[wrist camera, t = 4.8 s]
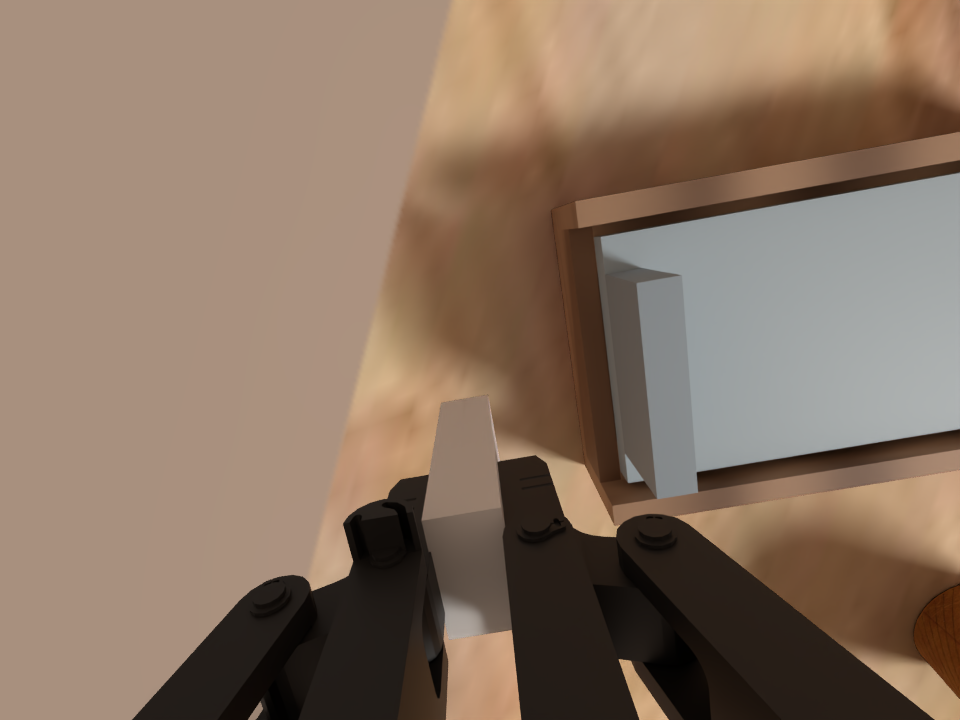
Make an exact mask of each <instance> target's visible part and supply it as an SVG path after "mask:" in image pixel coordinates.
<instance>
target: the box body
mask: <svg viewBox="0 0 960 720" xmlns="http://www.w3.org/2000/svg"><path fill="white" fill-rule="evenodd" d="M955 172H960V132H956V133H951V134H945V135H940V136H934V137H928V138H923V139H917V140H912V141H906V142H901V143H895V144H890V145H884V146H879V147H873V148H868V149H862V150H857V151H851V152H845V153H840V154H834V155H829V156H823V157H818V158H812V159H807V160H801V161H796V162H790V163H785V164H779V165H774V166H768V167H762V168H757V169H751V170H746V171H740V172H735V173H729V174H724V175H718V176H713V177H707V178H702V179H696V180H690V181H685V182H679V183H674V184H668V185H663V186H657V187H652V188H646V189H641V190H635V191H630V192H624V193H619V194H613V195H607V196H602V197H596V198H591V199H585V200H580V201H575V202H572V203H569V204H566V205H564V206H561V207H558V208H555V209H552V210H551V214H552V221H553V229H554V236H555V244H556V251H557V259H558V266H559V274H560V281H561V289H562V296H563V304H564V311H565V319H566V326H567V334H568V341H569V349H570V356H571V364H572V371H573V379H574V386H575V394H576V401H577V409H578V416H579V424H580V431H581V439H582V446H583V454H584V461H585V466H586V468H587V470H588V472H589V474H590V476H591V479H592V481H593V483H594V485H595V487H596V489H597V491H598V493H599V495H600V497H601V499H602V501H603V503H604V505H605V507H606V509H607V511H608V513H609V515H610V517H611V519H612V521H613V523H614V525H615V526H616V525H621V524H622V523H623V522H624V521H626V520H628V519H630V518H632V517H634V516H639V515H644V514H663V515H667V516H671V517H672V516H678V515H685V514H691V513H697V512H703V511H709V510H716V509H722V508H728V507H734V506H740V505H747V504H753V503H759V502H765V501H771V500H778V499H784V498H790V497H796V496H802V495H808V494H815V493H821V492H827V491H833V490H839V489H846V488H852V487H858V486H864V485H870V484H877V483H883V482H889V481H895V480H901V479H908V478H914V477H920V476H926V475H932V474H939V473H945V472H951V471H957V470H960V429H957V430H951V431H944V432H938V433H932V434H926V435H920V436H914V437H908V438H902V439H896V440H889V441H883V442H877V443H871V444H865V445H859V446H853V447H847V448H841V449H835V450H828V451H822V452H816V453H810V454H804V455H798V456H792V457H786V458H780V459H773V460H767V461H761V462H755V463H749V464H743V465H737V466H731V467H725V468H719V469H712V470H706V471H700V472H697V486H698V493H693V494H687V495H681V496H675V497H668V498H662V499H657V498H656V497H655V495H654V494H653V492H652V491H651V490H650V488H649V487H648V485H647V484H646V483H645V481H639V482H633V483H628V482H627V481H626V479H625V477H624V476H623V474H622V473H621V471H620V462H619V454H618V445H617V436H616V427H615V419H614V410H613V401H612V393H611V384H610V375H609V367H608V358H607V349H606V340H605V332H604V323H603V314H602V306H601V297H600V288H599V279H598V271H597V262H596V253H595V245H594V237H597V236H602V235H608V234H613V233H619V232H625V231H630V230H636V229H641V228H647V227H653V226H658V225H664V224H669V223H675V222H681V221H686V220H692V219H697V218H703V217H709V216H714V215H720V214H725V213H731V212H737V211H742V210H748V209H754V208H759V207H765V206H770V205H776V204H782V203H787V202H793V201H798V200H804V199H810V198H815V197H821V196H826V195H832V194H838V193H843V192H849V191H854V190H860V189H866V188H871V187H877V186H882V185H888V184H894V183H899V182H905V181H910V180H916V179H922V178H927V177H933V176H938V175H944V174H950V173H955Z"/></svg>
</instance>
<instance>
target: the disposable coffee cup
mask: <svg viewBox="0 0 960 720" xmlns="http://www.w3.org/2000/svg"><path fill="white" fill-rule="evenodd" d="M914 642H915V645H916V648H917V650H918V651H919V653H920V654H921V656H922V657H923V658H924V659H925V660H926V661H927V662H928V663H929V664H930V666H931V667H932V668H933V669H934V670H935V671H936V672H937V674H938V675H939V676H940V677H941V678H942V679H943V680H944V682H945V683H946V684H947V685H948V686H949V687H950V688H951V690H952V691H953V692H954V693H955V694H956V695H957V697H958V698H959V699H960V585H959V586H956V587H953V588H951V589H949V590H947V591H945V592H943V593H942V594H940V595H938V596H937V597H936V598H934V599H933V600H932V601H931V602H930V603H929V604H928V605H927V606H926V607H925V608H924V610H923V611H922V613H921V614H920V616H919V618H918V620H917V622H916V625H915V630H914Z"/></svg>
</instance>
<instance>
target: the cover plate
mask: <svg viewBox="0 0 960 720" xmlns="http://www.w3.org/2000/svg"><path fill="white" fill-rule="evenodd" d="M594 245H595V253H596V262H597V271H598V279H599V288H600V297H601V306H602V314H603V323H604V332H605V340H606V349H607V358H608V367H609V375H610V384H611V393H612V401H613V410H614V419H615V427H616V436H617V445H618V454H619V462H620V471H621V473H622V474H623V476H624V477H625V479H626V481H627V482H628V483H633V482H639V481H645V483H646V484H647V485H648V487H649V488H650V490H651V491H652V492H653V494H654V495H655V497H656V498H657V499H662V498H668V497H675V496H681V495H687V494H693V493H698V486H697V472H700V471H706V470H712V469H719V468H725V467H731V466H737V465H743V464H749V463H755V462H761V461H767V460H773V459H780V458H786V457H792V456H798V455H804V454H810V453H816V452H822V451H828V450H835V449H841V448H847V447H853V446H859V445H865V444H871V443H877V442H883V441H889V440H896V439H902V438H908V437H914V436H920V435H926V434H932V433H938V432H944V431H951V430H957V429H960V172H955V173H950V174H944V175H938V176H933V177H927V178H922V179H916V180H910V181H905V182H899V183H894V184H888V185H882V186H877V187H871V188H866V189H860V190H854V191H849V192H843V193H838V194H832V195H826V196H821V197H815V198H810V199H804V200H798V201H793V202H787V203H782V204H776V205H770V206H765V207H759V208H754V209H748V210H742V211H737V212H731V213H725V214H720V215H714V216H709V217H703V218H697V219H692V220H686V221H681V222H675V223H669V224H664V225H658V226H653V227H647V228H641V229H636V230H630V231H625V232H619V233H613V234H608V235H602V236H597V237H594Z"/></svg>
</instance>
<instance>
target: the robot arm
mask: <svg viewBox="0 0 960 720" xmlns="http://www.w3.org/2000/svg"><path fill="white" fill-rule="evenodd" d="M343 526H344V529H345V533H346V537H347V540H348V544H349V547H350V551H351V555H352V558H353V565H352V567H351V570H350V573H349V576H347V577H346V578H344V579H341V580H339V581H337V582H335V583H332V584H330V585H327V586H325V587H322V588H319V589H317V590H314V591H311V587H310V584H309V582H308V581H307V580H306V579H305V578H304V577H301V576H295V575H289V576H282V577H277V578H274V579H272V580H269V581H266V582H264V583H263V584H261V585H259V586H258V587H256V588H254V589H253V590H251V591H250V592H249V593H248V594H247V595H246V596H244V597H243V598H242V599H241V600H240V601H239V602H238V603H237V604H236V605H235V606H234V608H233V609H232V610H231V611H230V612H229V613H228V614H227V616H225V618H224V619H223V620H222V621H221V622H220V623H219V624H218V625H217V626H216V627H215V629H214V630H213V631H212V632H211V633H210V634H209V635H208V637H206V639H205V640H204V641H203V642H202V643H201V644H200V645H199V646H198V647H197V648H196V650H195V651H194V652H193V653H192V654H191V655H190V656H189V657H188V658H187V660H186V661H185V662H184V663H183V664H182V665H181V666H180V667H179V669H178V670H177V671H176V672H175V673H174V674H173V675H172V676H171V677H170V678H169V680H168V681H167V682H166V683H165V684H164V685H163V686H162V687H161V689H159V691H158V692H157V693H156V694H155V695H154V696H153V697H152V698H151V699H150V701H149V702H148V703H147V704H146V705H145V706H144V707H143V708H142V710H141V711H140V712H139V713H138V714H137V715H136V716H135V717H134V718H133V719H132V720H248V718H249V717H250V715H251V714H252V713H253V711H254V710H255V708H256V707H257V705H258V704H259V702H260V701H261V704H262V707H263V710H262V712H261V713H260V715H259V716H258V718H257V719H256V720H446V703H447V681H448V658H447V653H446V649H445V644H444V640H443V638H444V623H445V625H446V629H447V634H448V638H449V640H452V639H458V638H464V637H470V636H477V635H483V634H489V633H495V632H502V631H508V630H512V634H513V644H514V653H515V663H516V672H517V682H518V692H519V701H520V711H521V720H639V717H638V714H637V712H636V709H635V706H634V703H633V700H632V697H631V694H630V691H629V688H628V686H627V683H626V680H625V677H624V674H623V671H622V668H621V665H620V662H619V660H618V659H623V660H631V662H632V664H633V666H634V669H635V671H636V673H637V674H638V675H639V677H640V678H641V680H642V681H643V683H644V684H645V686H646V687H647V688H648V690H649V691H650V693H651V694H652V696H653V697H654V699H655V700H656V702H657V703H658V704H659V706H660V707H661V709H662V710H663V712H664V713H665V715H666V716H667V718H668V719H669V720H934V719H933V718H932V717H930V716H929V715H928V714H927V713H925V712H924V711H923V710H922V709H920V708H919V707H918V706H917V705H915V704H914V703H913V702H912V701H910V700H909V699H908V698H907V697H905V696H904V695H903V694H901V693H900V692H899V691H898V690H896V689H895V688H894V687H893V686H891V685H890V684H889V683H888V682H886V681H885V680H884V679H883V678H881V677H880V676H879V675H878V674H876V673H875V672H874V671H873V670H871V669H870V668H869V667H867V666H866V665H865V664H864V663H862V662H861V661H860V660H859V659H857V658H856V657H855V656H854V655H852V654H851V653H850V652H849V651H847V650H846V649H845V648H844V647H842V646H841V645H840V644H839V643H837V642H836V641H835V640H833V639H832V638H831V637H830V636H828V635H827V634H826V633H825V632H823V631H822V630H821V629H820V628H818V627H817V626H816V625H815V624H813V623H812V622H811V621H810V620H808V619H807V618H806V617H805V616H803V615H802V614H801V613H799V612H798V611H797V610H796V609H794V608H793V607H792V606H791V605H789V604H788V603H787V602H786V601H784V600H783V599H782V598H781V597H779V596H778V595H777V594H776V593H774V592H773V591H772V590H770V589H769V588H768V587H767V586H765V585H764V584H763V583H762V582H760V581H759V580H758V579H757V578H755V577H754V576H753V575H752V574H750V573H749V572H748V571H747V570H745V569H744V568H743V567H742V566H740V565H739V564H738V563H736V562H735V561H734V560H733V559H731V558H730V557H729V556H728V555H726V554H725V553H724V552H723V551H721V550H720V549H719V548H718V547H716V546H715V545H714V544H713V543H711V542H710V541H709V540H708V539H706V538H705V537H704V536H702V535H701V534H700V533H699V532H697V531H696V530H695V529H694V528H692V527H691V526H690V525H689V524H687V523H685V522H683V521H682V520H680V519H678V518H675V517H671V516H667V515H663V514H644V515H639V516H634V517H632V518H630V519H628V520H626V521H624V522H623V523H622V524H621V525H620V527H619V528H618V529H617V535H616V537H601V536H593V535H589V534H585V533H582V532H580V531H578V530H576V529H574V528H573V527H572V524H571V523H570V522H569V520H568V519H567V518H566V517H564V514H563V511H562V508H561V505H560V502H559V499H558V496H557V493H556V490H555V487H554V485H553V481H552V478H551V476H550V472H549V469H548V466H547V463H546V462H544V461H543V460H541V459H540V458H539V457H537V456H536V455H534V456H528V457H523V458H517V459H511V460H505V461H500V459H499V453H498V448H497V442H496V437H495V431H494V425H493V420H492V414H491V409H490V403H489V397H488V395H483V396H478V397H472V398H466V399H460V400H454V401H449V402H443V403H441V406H440V412H439V418H438V424H437V430H436V436H435V442H434V448H433V454H432V460H431V466H430V472H429V475H425V476H419V477H413V478H407V479H401V480H400V481H399V482H398V483H397V484H396V485H395V486H394V487H393V488H392V489H391V490H390V492H389V496H388V499H383V500H379V501H375V502H372V503H369V504H367V505H365V506H363V507H361V508H359V509H357V510H356V511H355V512H353V513H352V514H351V515H349V516H348V518H347V519H346V520H345V522H344V523H343Z"/></svg>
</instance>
